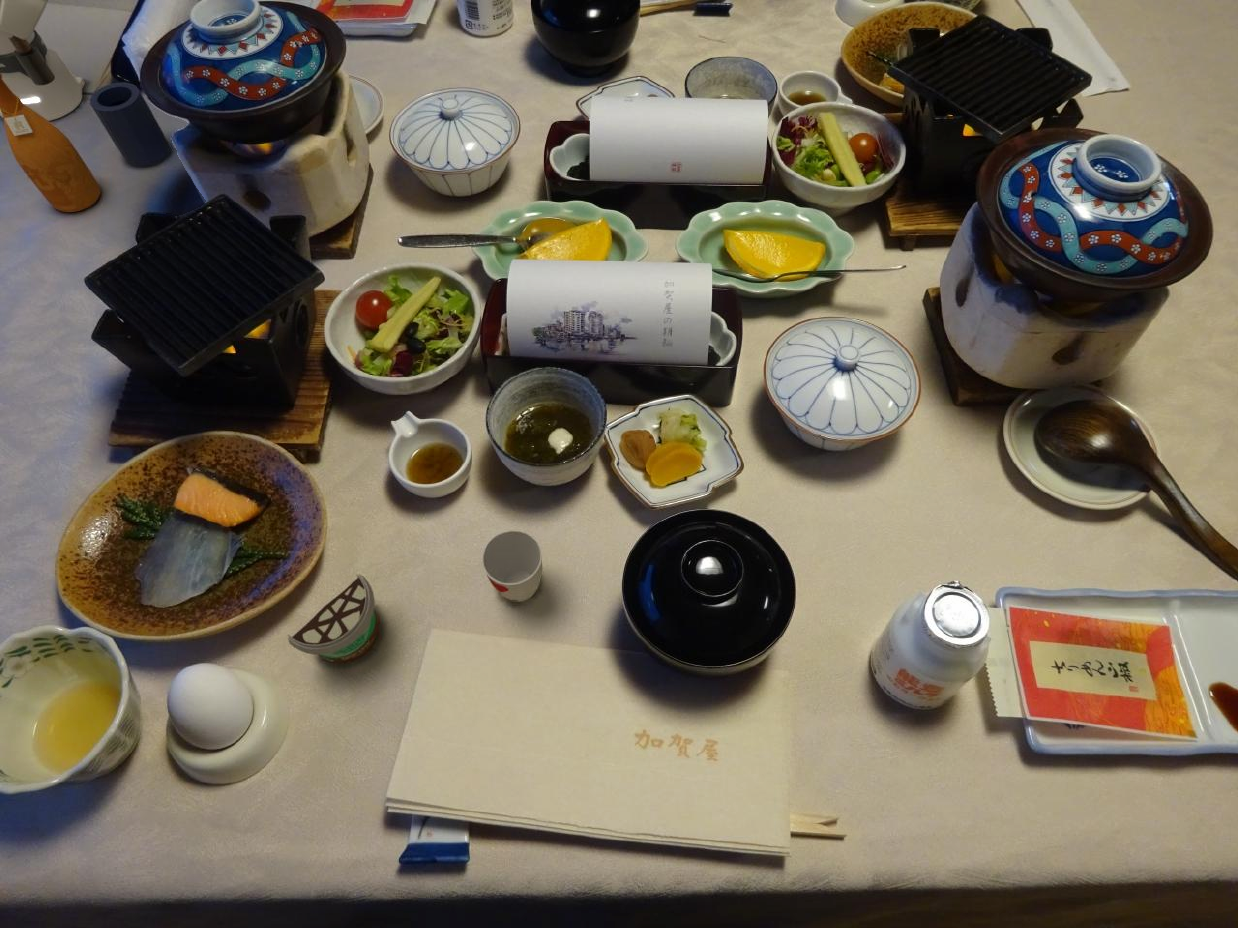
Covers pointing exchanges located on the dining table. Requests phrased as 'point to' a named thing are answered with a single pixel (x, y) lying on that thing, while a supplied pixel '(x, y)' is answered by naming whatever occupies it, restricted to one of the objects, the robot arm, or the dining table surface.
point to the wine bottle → (47, 156)
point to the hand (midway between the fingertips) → (5, 27)
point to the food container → (342, 626)
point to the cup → (513, 564)
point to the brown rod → (32, 61)
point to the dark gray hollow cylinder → (130, 124)
